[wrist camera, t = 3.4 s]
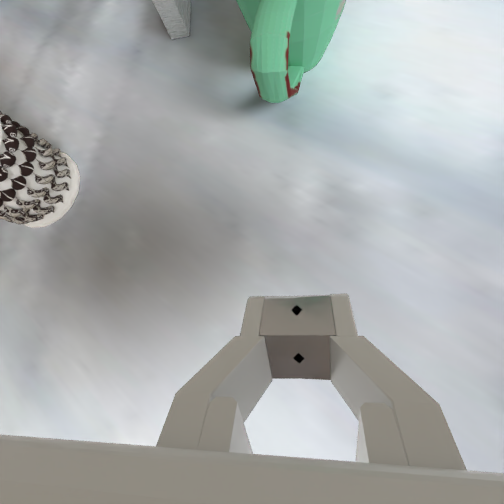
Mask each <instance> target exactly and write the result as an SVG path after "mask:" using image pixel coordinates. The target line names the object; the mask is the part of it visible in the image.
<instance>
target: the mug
mask: <svg viewBox="0 0 504 504" xmlns="http://www.w3.org/2000/svg"><path fill="white" fill-rule="evenodd" d="M236 1H237V3H238V5H239V8H240V10H241V12H242V14H243V16H244V18H245V20H246V22H247V24H248V26H249V28H250V30H251V32H252V34H251V39H250V63H251V72H252V75H253V78H254V81H255V84H256V87H257V90H258V93H259V96H260V97H261V98H262V99H264V100H266V101H268V102H271V103H279V102H282V101H285V100H287V99H289V98H290V97H292V96H294V95H296V94H297V93H298V91H299V87H300V83H301V79H302V76H303V73H305V72H307V71H309V70H311V69H312V68H313V67H315V66H316V65H317V64H318V62H319V61H320V59H321V58H322V56H323V54H324V52H325V50H326V48H327V46H328V44H329V42H330V40H331V38H332V36H333V33H334V31H335V28H336V26H337V23H338V21H339V19H340V16H341V14H342V11H343V8H344V5H345V2H346V0H236Z"/></svg>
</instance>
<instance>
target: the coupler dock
mask: <svg viewBox="0 0 504 504" xmlns="http://www.w3.org/2000/svg"><path fill="white" fill-rule="evenodd" d="M152 1H153V3H154V5H155V7H156V9H157V11H158V13H159V15H160V17H161V19H162V21H163V23H164V25H165V27H166V29H167V31H168V33H169V35H170V37H171V39H172V40H173V39H177V38H182V37H187V36H190V17H191V0H152Z"/></svg>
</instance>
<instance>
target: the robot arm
mask: <svg viewBox="0 0 504 504" xmlns="http://www.w3.org/2000/svg"><path fill="white" fill-rule="evenodd" d="M272 378H302V379H321V380H331V382H332V384H333V385H334V387H335V388H336V389H337V391H338V392H339V394H340V395H341V396H342V398H343V399H344V401H345V402H346V404H347V405H348V406H349V408H350V409H351V411H352V412H353V414H354V415H355V416H356V418H357V419H358V421H359V425H358V436H357V448H356V462H351V461H338V460H325V459H313V458H299V457H286V456H273V455H260V454H253V452H252V449H251V446H250V442H249V439H248V436H247V433H246V429H245V426H244V422H245V420H246V419H247V417H248V416H249V414H250V413H251V411H252V410H253V408H254V407H255V405H256V404H257V402H258V401H259V399H260V398H261V397H262V395H263V394H264V392H265V391H266V389H267V388H268V386H269V385H270V383H271V382H272ZM0 504H504V473H492V472H480V471H467V470H466V467H465V465H464V462H463V460H462V458H461V455H460V453H459V450H458V448H457V446H456V443H455V441H454V438H453V436H452V434H451V431H450V429H449V427H448V424H447V422H446V419H445V417H444V415H443V412H442V410H441V407H440V405H439V404H438V403H437V402H436V401H435V400H434V399H433V398H432V397H431V396H430V395H428V394H427V393H426V392H425V391H424V390H423V389H422V388H421V387H420V386H418V385H417V384H416V383H415V382H414V381H413V380H412V379H411V378H410V377H409V376H407V375H406V374H405V373H404V372H403V371H402V370H401V369H400V368H399V367H397V366H396V365H395V364H394V363H393V362H392V361H391V360H390V359H389V358H387V357H386V356H385V355H384V354H383V353H382V352H381V351H380V350H379V349H377V348H376V347H375V346H374V345H373V344H372V343H371V342H370V341H369V340H367V339H366V338H365V337H364V336H358V334H357V329H356V325H355V321H354V316H353V312H352V308H351V303H350V299H349V295H348V294H330V295H308V296H250V297H249V298H248V300H247V305H246V310H245V314H244V319H243V324H242V328H241V333H240V336H235V337H234V338H233V339H232V340H231V341H230V342H229V343H228V344H227V345H226V346H224V347H223V348H222V349H221V350H220V351H219V352H218V353H217V354H216V355H215V356H214V357H213V358H212V359H211V360H210V361H209V362H208V363H207V364H206V365H205V366H204V367H203V368H202V369H201V370H200V371H198V372H197V373H196V374H195V375H194V376H193V377H192V378H191V379H190V380H189V381H188V382H187V383H186V384H185V385H184V386H183V387H182V388H181V389H180V390H179V391H178V392H177V393H176V394H175V397H174V400H173V402H172V405H171V408H170V410H169V413H168V416H167V418H166V421H165V424H164V426H163V429H162V432H161V434H160V437H159V440H158V442H157V445H156V446H143V445H130V444H117V443H104V442H91V441H78V440H65V439H52V438H39V437H26V436H13V435H0Z"/></svg>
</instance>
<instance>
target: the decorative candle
mask: <svg viewBox="0 0 504 504" xmlns="http://www.w3.org/2000/svg"><path fill="white" fill-rule="evenodd" d="M51 147H52V145H51V144H50V143H47V141H46V140H45V139H41V140H38V136H37V135H36V134H34V133H32V134H29V130H28V129H27V128H26V127H24V126H20V124H19V123H17V122H15V121H12V120H11V118H10V117H9V116H8V115H6V114H2V113H1V112H0V219H5V220H6V221H8V222H15V223H17V224H23V225H25V226H28V227H31V228H39V227H47V226H49V225H51V224H52V223H54V222H56V221H58V220H60V219H61V218H62V217H63V216H64V215H65V214H66V213H67V212H68V210H69V209H70V208H71V207H72V205H73V203H74V201H75V199H76V197H77V195H78V193H79V186H80V174H79V170H78V167H77V164H76V163H75V162H74V161H73V160H72V159H71V158H70V157H69V156H68V155H67V154H65V153H61V151H60V149H58V148H56V149H54V150H53V149H52V148H51Z"/></svg>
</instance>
